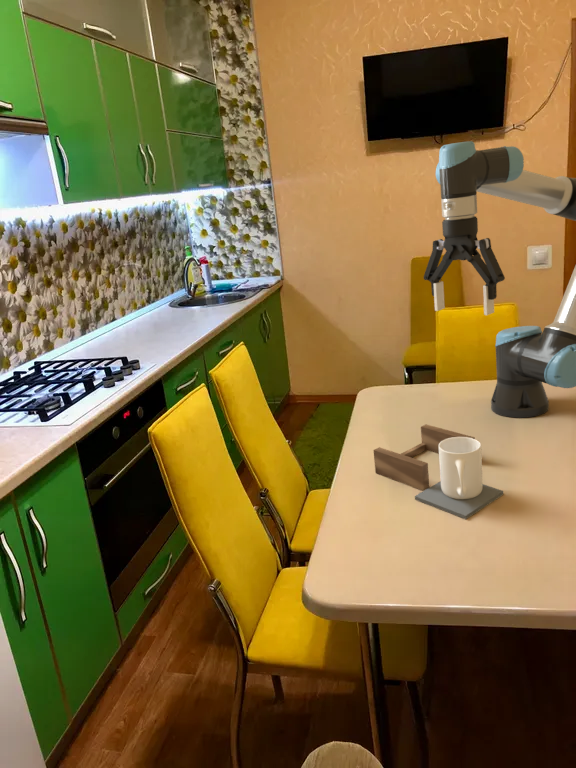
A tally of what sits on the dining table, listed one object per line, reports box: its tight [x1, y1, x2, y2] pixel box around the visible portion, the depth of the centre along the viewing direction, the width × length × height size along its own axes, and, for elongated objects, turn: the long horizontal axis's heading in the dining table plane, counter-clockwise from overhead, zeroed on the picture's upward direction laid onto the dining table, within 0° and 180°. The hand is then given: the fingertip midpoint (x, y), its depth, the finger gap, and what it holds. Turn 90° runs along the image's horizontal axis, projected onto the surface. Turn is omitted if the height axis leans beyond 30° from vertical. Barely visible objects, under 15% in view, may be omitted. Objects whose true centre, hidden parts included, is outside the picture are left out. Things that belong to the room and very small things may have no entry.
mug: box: [438, 437, 484, 499], centre depth 129 cm, size 9×12×11 cm
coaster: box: [414, 480, 504, 520], centre depth 131 cm, size 13×13×1 cm
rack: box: [373, 424, 475, 492], centre depth 146 cm, size 19×14×6 cm
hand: (463, 311), depth 142 cm, fingers open, 13 cm apart
